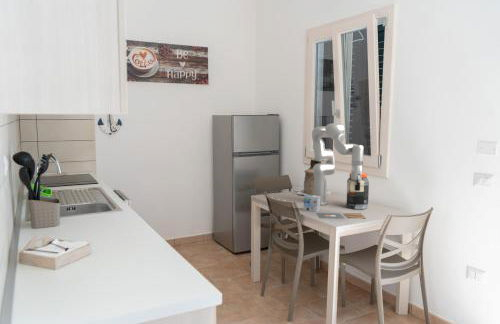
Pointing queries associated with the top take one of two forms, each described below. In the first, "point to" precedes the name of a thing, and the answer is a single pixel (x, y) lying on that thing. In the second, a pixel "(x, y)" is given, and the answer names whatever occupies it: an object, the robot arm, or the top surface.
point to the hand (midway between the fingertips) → (355, 189)
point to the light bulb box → (311, 203)
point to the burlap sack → (310, 180)
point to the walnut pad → (355, 215)
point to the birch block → (352, 186)
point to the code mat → (330, 215)
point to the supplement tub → (358, 195)
